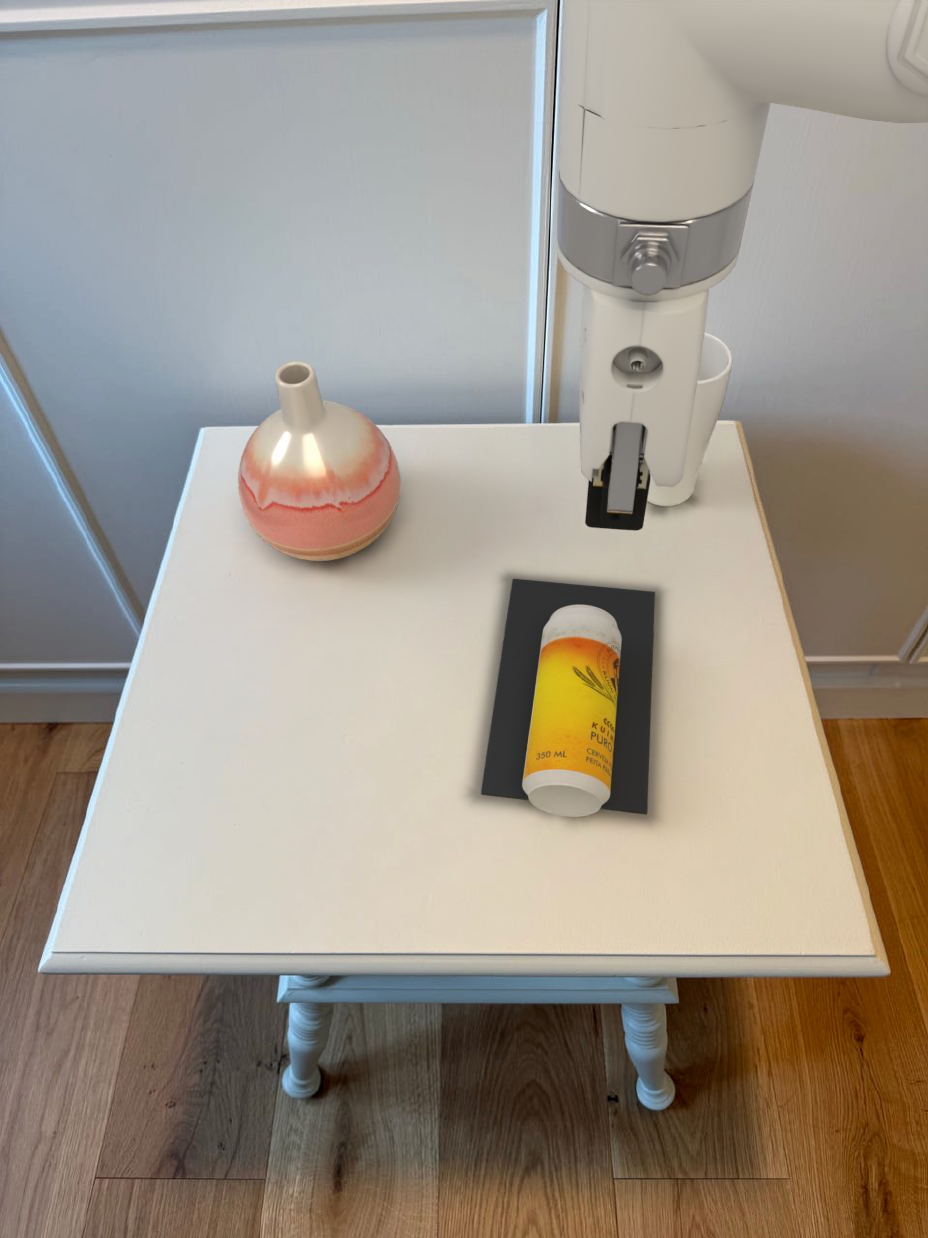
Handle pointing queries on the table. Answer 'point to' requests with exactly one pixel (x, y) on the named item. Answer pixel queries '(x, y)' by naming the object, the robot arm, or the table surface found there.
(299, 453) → the vase
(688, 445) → the white tumbler
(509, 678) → the mat
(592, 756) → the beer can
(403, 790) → the table surface
